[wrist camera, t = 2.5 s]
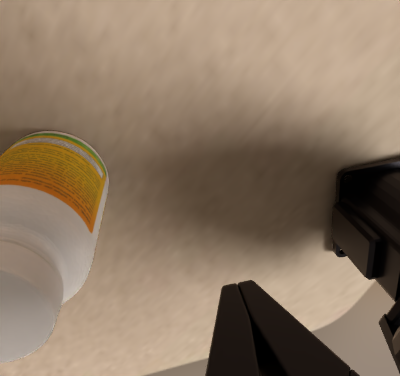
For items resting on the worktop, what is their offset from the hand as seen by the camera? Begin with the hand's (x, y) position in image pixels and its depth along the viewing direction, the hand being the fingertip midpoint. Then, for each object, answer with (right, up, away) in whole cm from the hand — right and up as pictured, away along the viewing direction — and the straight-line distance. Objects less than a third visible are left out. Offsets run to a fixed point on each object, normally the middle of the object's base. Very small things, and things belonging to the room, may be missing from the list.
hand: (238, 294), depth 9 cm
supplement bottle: (-9, +4, +9) cm, 13 cm away
